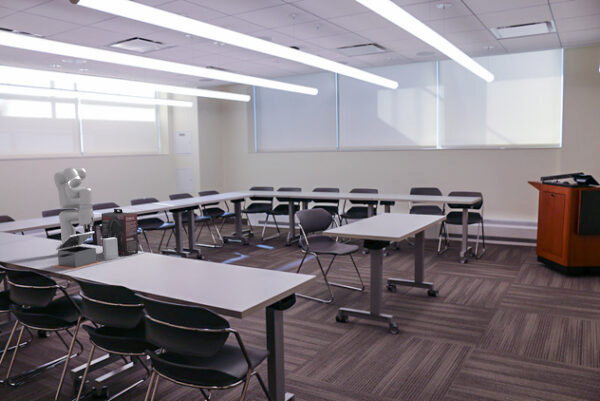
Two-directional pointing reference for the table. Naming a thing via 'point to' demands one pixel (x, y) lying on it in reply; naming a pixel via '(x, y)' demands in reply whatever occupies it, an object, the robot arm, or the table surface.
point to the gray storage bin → (77, 256)
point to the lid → (75, 240)
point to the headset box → (121, 230)
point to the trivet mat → (74, 268)
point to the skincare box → (110, 248)
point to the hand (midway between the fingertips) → (87, 234)
